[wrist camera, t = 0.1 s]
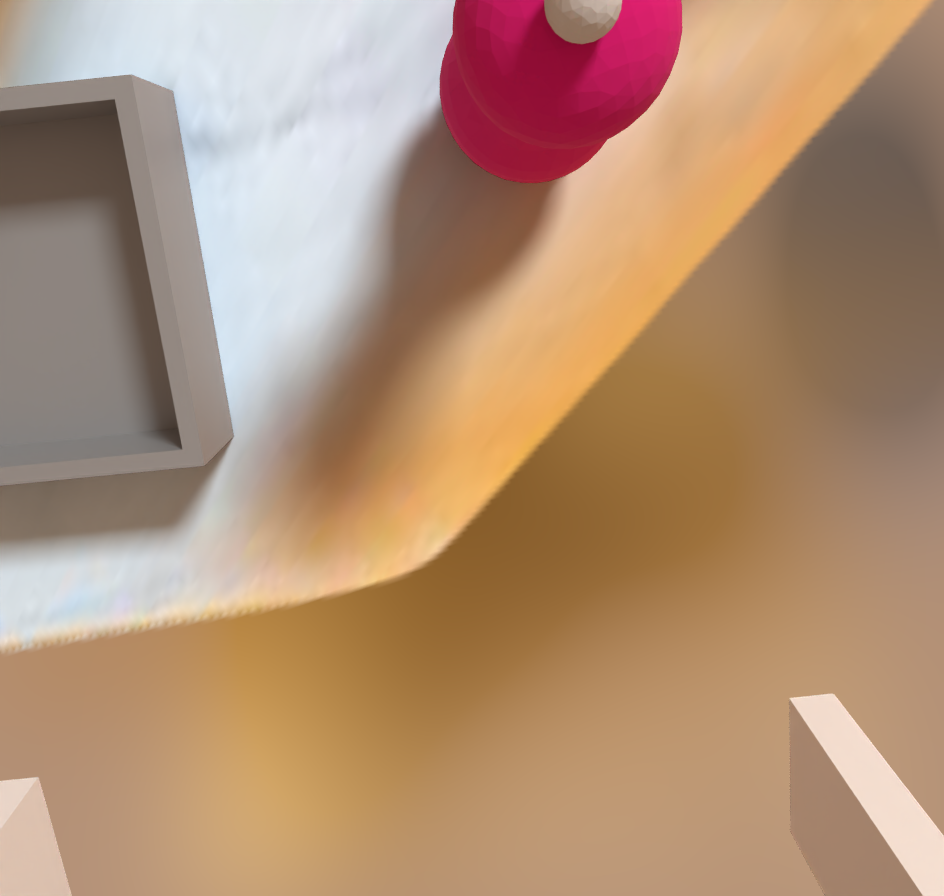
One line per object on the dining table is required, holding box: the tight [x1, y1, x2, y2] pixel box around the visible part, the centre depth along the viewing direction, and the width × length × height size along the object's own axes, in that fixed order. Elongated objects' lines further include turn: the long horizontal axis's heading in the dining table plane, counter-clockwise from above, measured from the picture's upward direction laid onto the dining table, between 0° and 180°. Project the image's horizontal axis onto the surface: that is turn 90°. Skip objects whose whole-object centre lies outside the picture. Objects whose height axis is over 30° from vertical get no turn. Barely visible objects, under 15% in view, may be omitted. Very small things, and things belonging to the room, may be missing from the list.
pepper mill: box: [440, 0, 682, 183], centre depth 29 cm, size 7×7×20 cm
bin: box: [0, 75, 234, 486], centre depth 38 cm, size 16×16×5 cm
